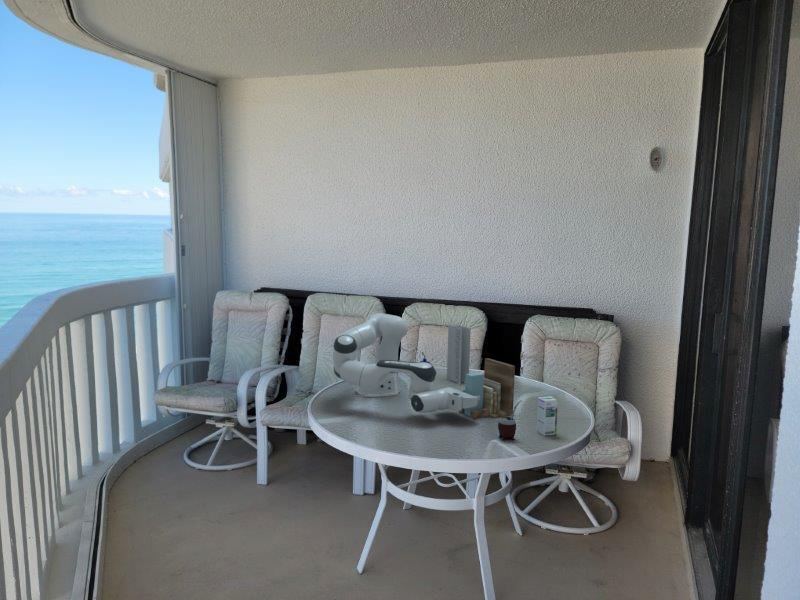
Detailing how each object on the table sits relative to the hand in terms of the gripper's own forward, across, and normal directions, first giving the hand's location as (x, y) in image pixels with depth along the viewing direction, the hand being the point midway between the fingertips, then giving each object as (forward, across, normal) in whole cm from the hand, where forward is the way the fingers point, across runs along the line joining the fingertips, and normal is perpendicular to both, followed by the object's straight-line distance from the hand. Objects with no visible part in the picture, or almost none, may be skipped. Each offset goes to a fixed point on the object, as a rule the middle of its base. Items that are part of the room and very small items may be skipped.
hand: (472, 394), depth 253 cm
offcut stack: (+9, -1, -8) cm, 12 cm away
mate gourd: (-7, +31, -9) cm, 33 cm away
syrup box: (+11, +34, -9) cm, 37 cm away
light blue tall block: (+1, 0, -9) cm, 9 cm away
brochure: (+31, -51, -9) cm, 61 cm away
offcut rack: (+7, 0, -9) cm, 11 cm away
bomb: (+18, -65, -9) cm, 68 cm away
